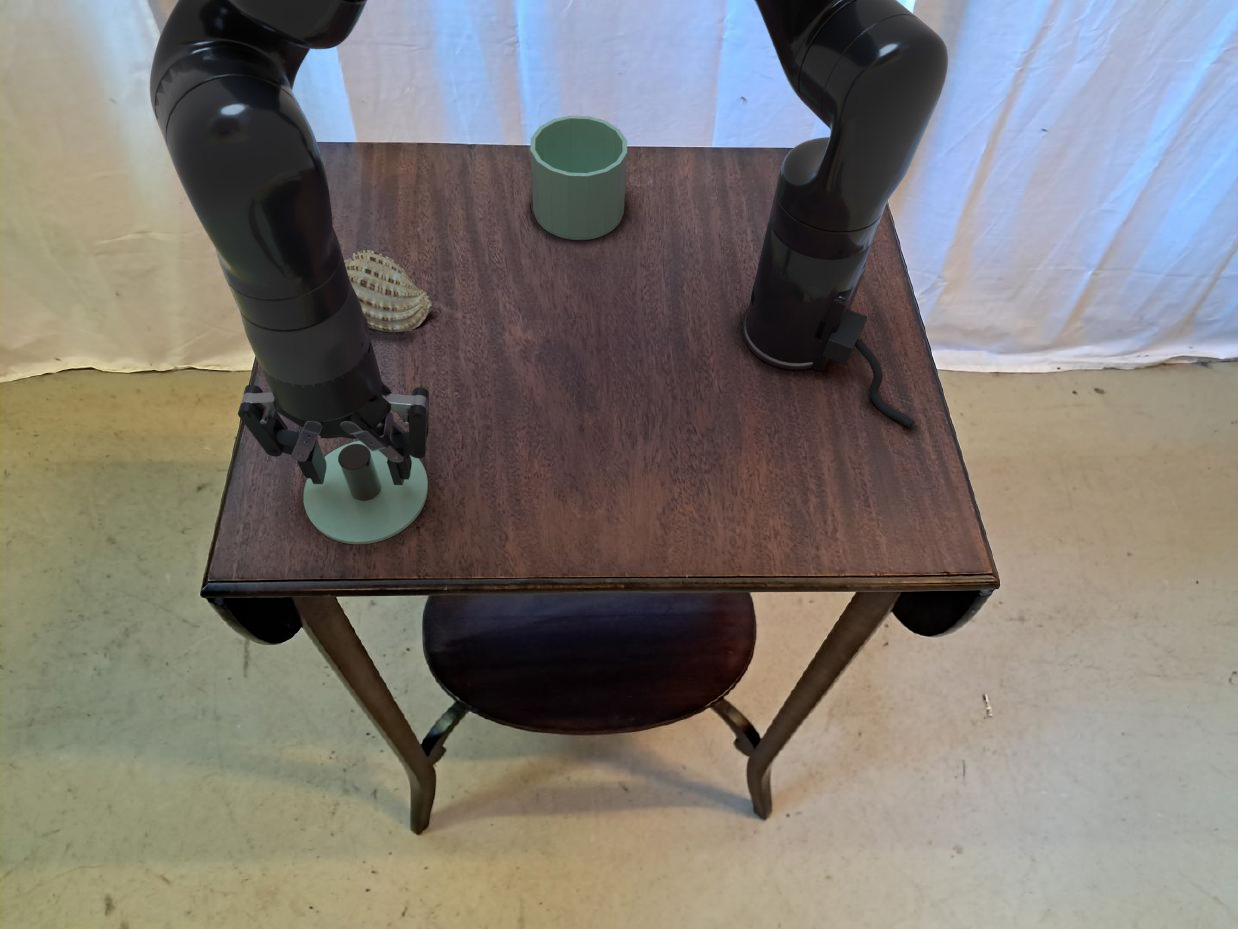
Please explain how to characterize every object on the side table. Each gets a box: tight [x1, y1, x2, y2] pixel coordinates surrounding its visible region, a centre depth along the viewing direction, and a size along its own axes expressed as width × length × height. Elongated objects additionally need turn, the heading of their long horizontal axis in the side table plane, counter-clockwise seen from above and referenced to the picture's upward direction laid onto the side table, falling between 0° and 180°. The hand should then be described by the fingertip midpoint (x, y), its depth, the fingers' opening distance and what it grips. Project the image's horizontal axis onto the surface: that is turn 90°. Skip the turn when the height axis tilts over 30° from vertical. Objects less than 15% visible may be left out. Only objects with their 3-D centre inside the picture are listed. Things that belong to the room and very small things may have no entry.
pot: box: [529, 115, 628, 241], centre depth 95 cm, size 10×10×8 cm
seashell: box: [344, 249, 434, 333], centre depth 87 cm, size 8×6×10 cm
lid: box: [302, 440, 429, 545], centre depth 74 cm, size 10×10×6 cm
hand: (360, 475), depth 73 cm, fingers open, 6 cm apart
